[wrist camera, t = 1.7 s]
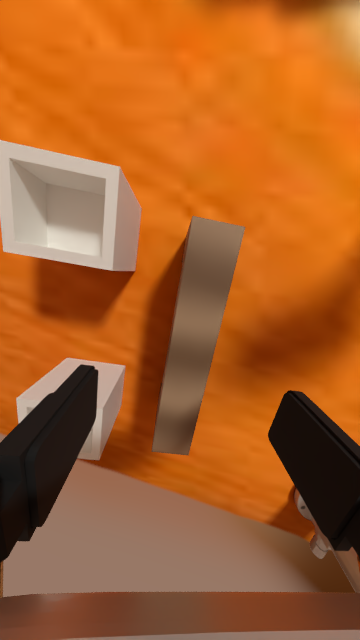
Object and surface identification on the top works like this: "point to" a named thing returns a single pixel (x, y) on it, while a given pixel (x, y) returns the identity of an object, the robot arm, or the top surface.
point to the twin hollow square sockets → (70, 247)
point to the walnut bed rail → (195, 329)
